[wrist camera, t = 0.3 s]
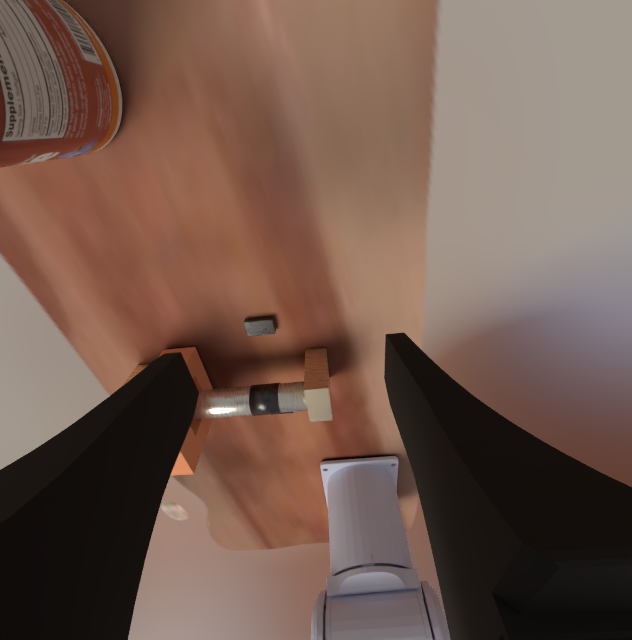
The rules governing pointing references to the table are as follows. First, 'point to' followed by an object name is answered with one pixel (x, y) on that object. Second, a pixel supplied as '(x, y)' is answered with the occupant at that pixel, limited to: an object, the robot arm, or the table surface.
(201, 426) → the upright terracotta block
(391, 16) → the table surface
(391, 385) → the robot arm
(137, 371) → the pipe rail
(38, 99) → the pill bottle
